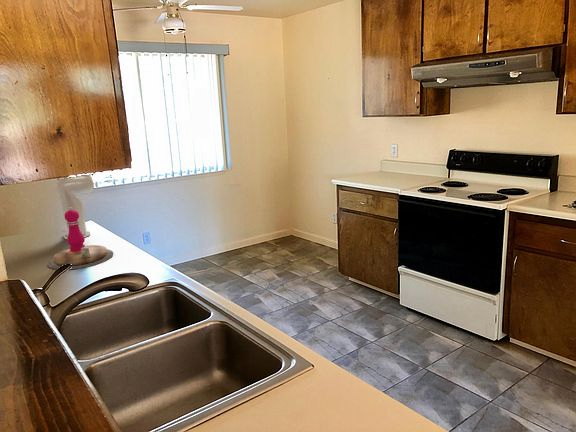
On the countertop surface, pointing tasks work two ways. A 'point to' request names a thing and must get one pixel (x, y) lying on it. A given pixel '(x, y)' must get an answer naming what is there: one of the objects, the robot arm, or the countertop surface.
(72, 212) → the pepper mill
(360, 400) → the countertop surface
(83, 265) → the base
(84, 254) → the turntable
